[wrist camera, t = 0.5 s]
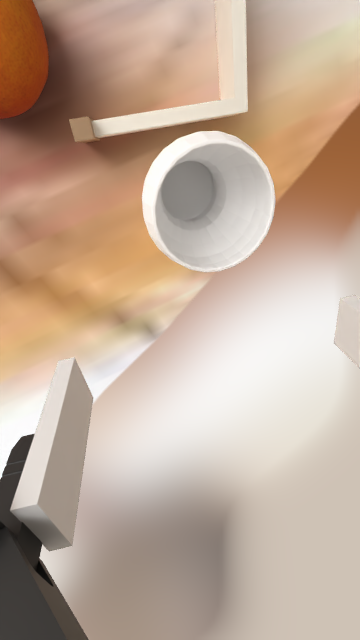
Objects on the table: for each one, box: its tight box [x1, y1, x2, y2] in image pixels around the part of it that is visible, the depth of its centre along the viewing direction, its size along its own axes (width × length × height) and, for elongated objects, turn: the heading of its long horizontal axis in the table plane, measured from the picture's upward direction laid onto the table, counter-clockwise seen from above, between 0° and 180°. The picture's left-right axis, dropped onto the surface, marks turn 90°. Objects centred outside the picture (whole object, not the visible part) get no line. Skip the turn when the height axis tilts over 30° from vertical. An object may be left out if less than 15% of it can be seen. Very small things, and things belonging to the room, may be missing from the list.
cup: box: [142, 131, 276, 272], centre depth 28 cm, size 11×11×15 cm
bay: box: [69, 0, 248, 143], centre depth 24 cm, size 16×16×7 cm
